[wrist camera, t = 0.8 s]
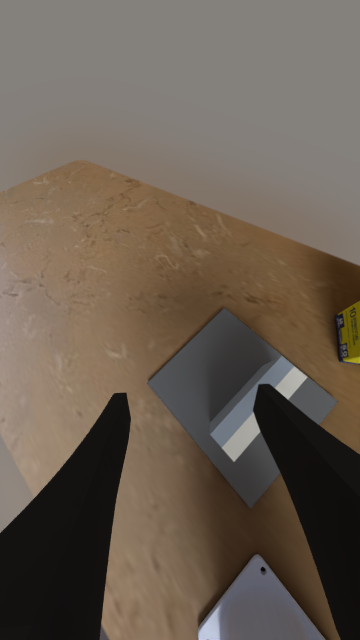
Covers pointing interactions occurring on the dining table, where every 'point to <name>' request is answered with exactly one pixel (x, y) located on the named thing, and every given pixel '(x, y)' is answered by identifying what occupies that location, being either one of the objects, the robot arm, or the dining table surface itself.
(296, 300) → the dining table surface
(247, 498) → the mat
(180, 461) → the dining table surface
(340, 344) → the supplement box
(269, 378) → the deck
